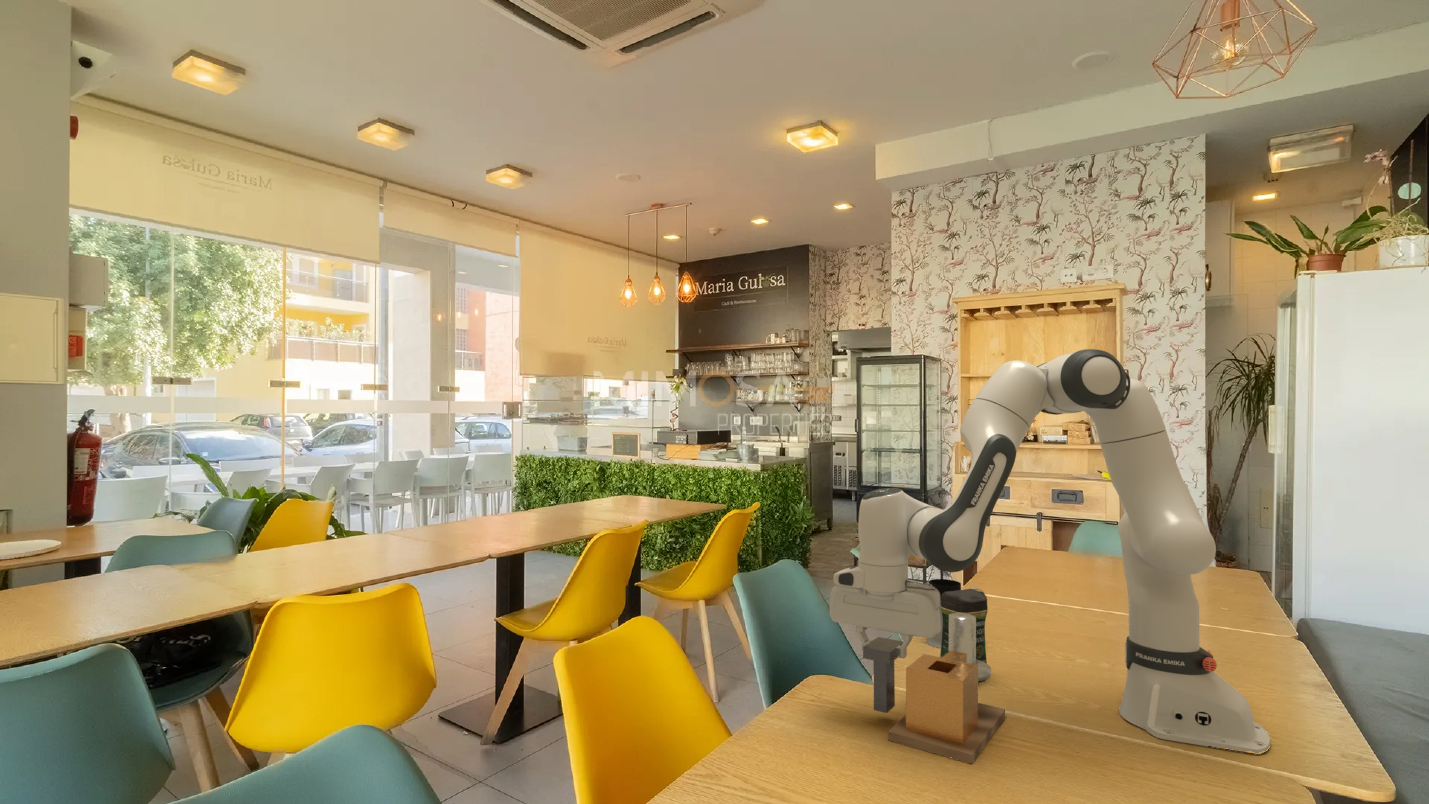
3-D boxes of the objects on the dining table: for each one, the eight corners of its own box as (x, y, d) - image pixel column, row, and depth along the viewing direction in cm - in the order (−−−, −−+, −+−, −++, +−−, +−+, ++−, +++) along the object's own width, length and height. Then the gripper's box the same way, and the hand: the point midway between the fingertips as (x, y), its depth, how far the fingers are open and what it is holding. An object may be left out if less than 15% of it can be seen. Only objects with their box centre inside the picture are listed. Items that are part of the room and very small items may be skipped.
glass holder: (922, 637, 177) (922, 578, 177) (978, 639, 176) (979, 579, 177) (931, 649, 168) (931, 586, 168) (991, 650, 168) (991, 587, 168)
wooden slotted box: (943, 690, 138) (943, 606, 139) (996, 703, 133) (996, 615, 133) (904, 729, 121) (905, 633, 121) (964, 745, 115) (964, 644, 115)
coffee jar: (961, 687, 144) (962, 596, 144) (933, 675, 151) (933, 588, 151) (994, 680, 148) (994, 591, 149) (965, 668, 155) (965, 583, 156)
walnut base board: (930, 699, 138) (930, 691, 138) (1005, 717, 130) (1005, 709, 130) (888, 740, 120) (888, 731, 120) (972, 764, 112) (972, 754, 112)
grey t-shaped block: (878, 698, 132) (878, 636, 132) (904, 704, 129) (904, 641, 130) (863, 711, 126) (863, 647, 126) (890, 718, 123) (889, 652, 124)
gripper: (945, 581, 125) (946, 659, 125) (839, 568, 137) (840, 639, 136) (934, 588, 120) (935, 670, 119) (825, 574, 132) (826, 648, 131)
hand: (883, 653), depth 128 cm, fingers closed on grey t-shaped block, 5 cm apart
